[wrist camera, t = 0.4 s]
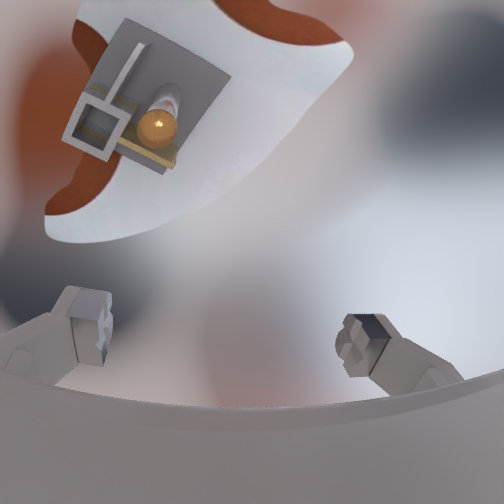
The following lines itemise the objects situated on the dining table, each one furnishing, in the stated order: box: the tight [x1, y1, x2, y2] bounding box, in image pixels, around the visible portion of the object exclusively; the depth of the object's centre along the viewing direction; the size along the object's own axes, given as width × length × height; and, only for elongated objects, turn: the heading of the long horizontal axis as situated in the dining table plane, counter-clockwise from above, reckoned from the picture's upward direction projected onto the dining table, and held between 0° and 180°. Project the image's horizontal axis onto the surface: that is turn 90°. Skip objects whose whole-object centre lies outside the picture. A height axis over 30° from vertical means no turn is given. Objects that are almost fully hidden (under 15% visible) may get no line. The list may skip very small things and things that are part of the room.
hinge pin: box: [137, 83, 181, 149], centre depth 39 cm, size 5×5×19 cm
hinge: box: [61, 40, 178, 169], centre depth 43 cm, size 19×19×8 cm
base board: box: [84, 18, 231, 175], centre depth 46 cm, size 22×21×1 cm
